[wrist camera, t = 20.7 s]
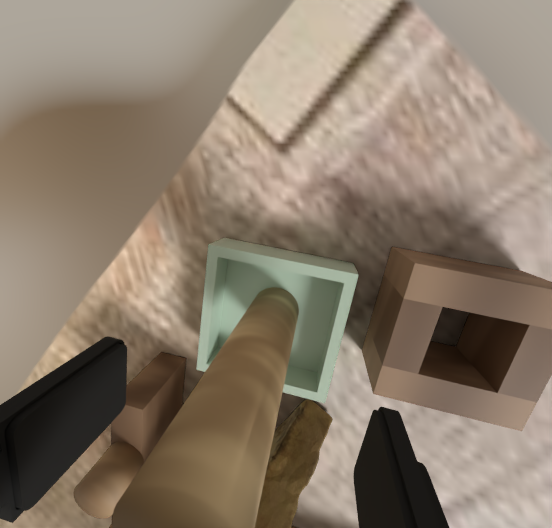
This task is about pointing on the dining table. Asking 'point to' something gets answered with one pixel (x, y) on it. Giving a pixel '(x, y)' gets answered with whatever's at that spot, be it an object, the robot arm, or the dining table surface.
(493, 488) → the dining table surface
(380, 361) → the holder
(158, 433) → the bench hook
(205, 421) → the dowel
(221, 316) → the tray
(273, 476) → the rock
